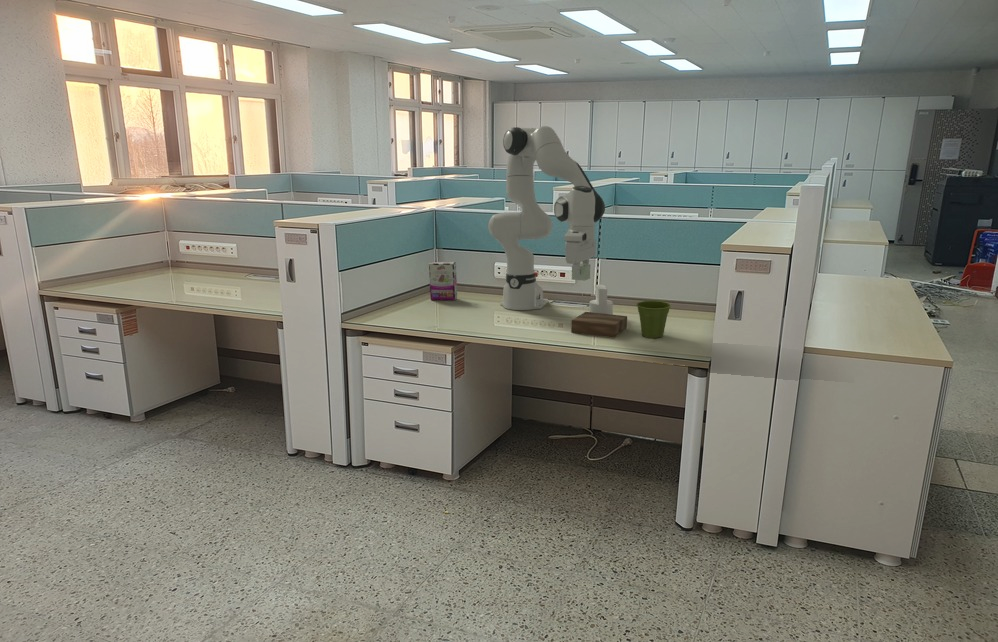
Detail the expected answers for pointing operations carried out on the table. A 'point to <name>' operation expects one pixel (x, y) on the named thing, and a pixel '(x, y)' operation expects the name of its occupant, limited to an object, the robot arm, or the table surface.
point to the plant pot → (653, 317)
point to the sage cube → (582, 272)
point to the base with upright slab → (601, 302)
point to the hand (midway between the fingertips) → (581, 273)
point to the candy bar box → (443, 281)
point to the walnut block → (599, 324)
